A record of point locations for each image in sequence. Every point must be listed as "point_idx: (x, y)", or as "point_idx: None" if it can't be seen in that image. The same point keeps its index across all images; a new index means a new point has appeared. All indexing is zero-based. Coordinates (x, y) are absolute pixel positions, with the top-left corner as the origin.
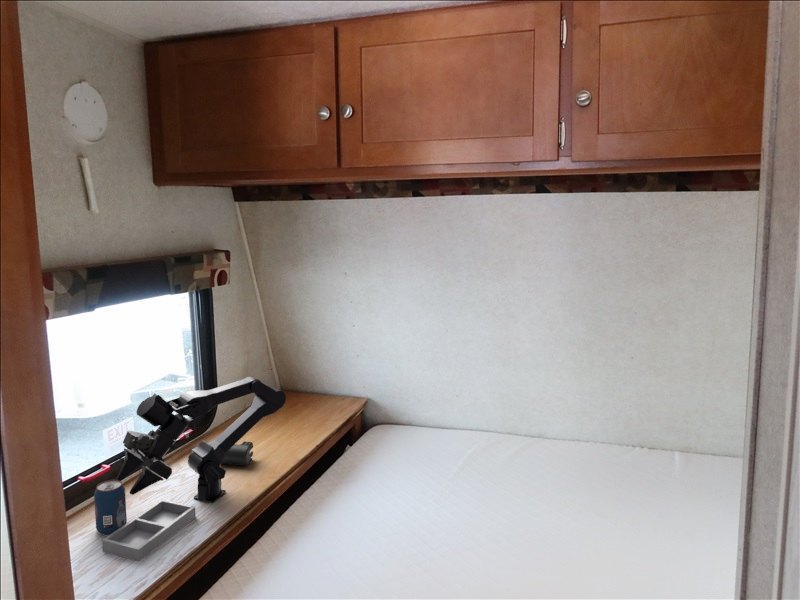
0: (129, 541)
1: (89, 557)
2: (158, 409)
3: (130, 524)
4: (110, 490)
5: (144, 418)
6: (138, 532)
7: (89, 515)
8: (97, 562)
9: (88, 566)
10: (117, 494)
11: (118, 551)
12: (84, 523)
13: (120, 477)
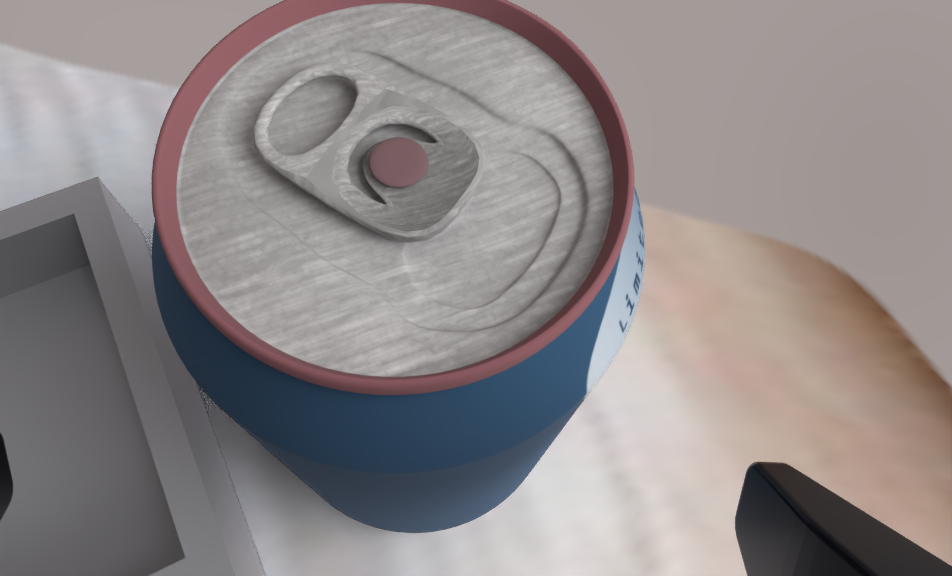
0: (51, 422)
1: (153, 147)
2: None
3: (166, 485)
4: (174, 103)
5: None
6: (126, 553)
7: (784, 345)
8: (42, 162)
9: (51, 109)
10: (154, 254)
11: None
12: (669, 273)
13: (765, 533)
